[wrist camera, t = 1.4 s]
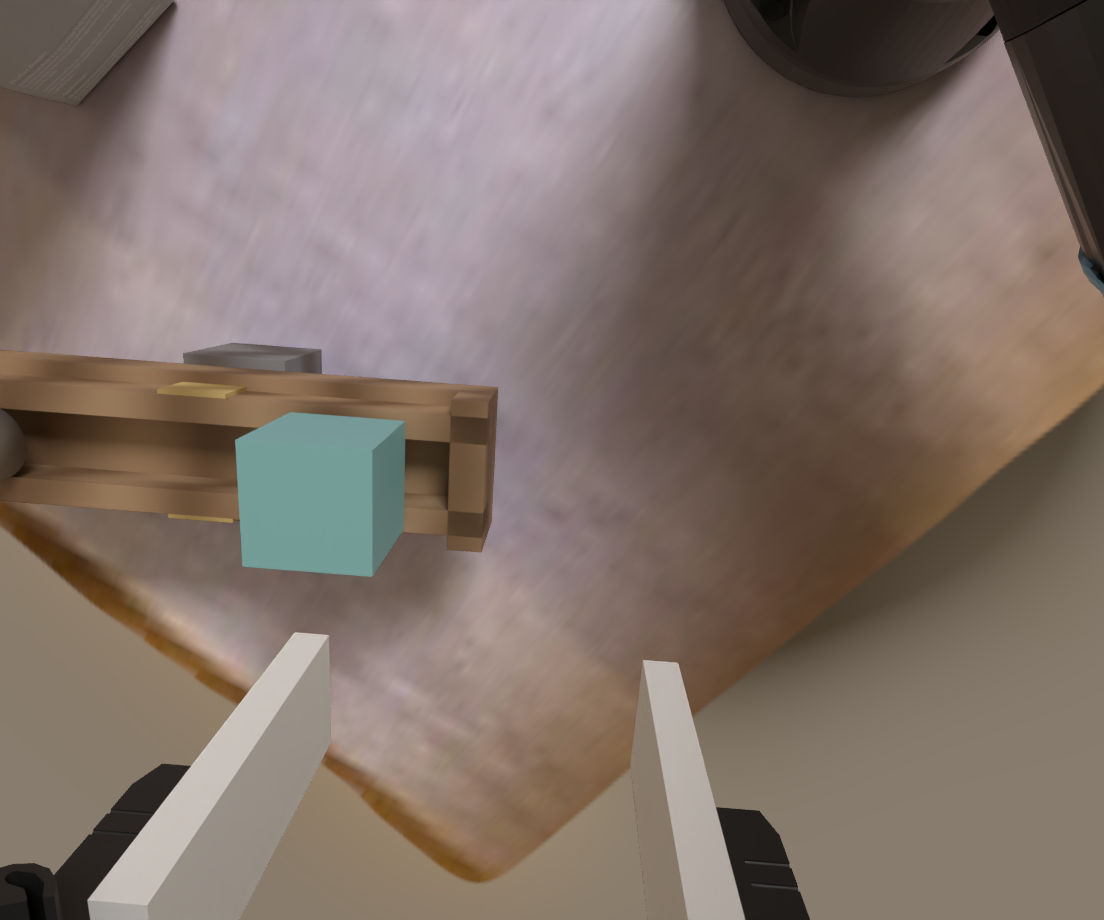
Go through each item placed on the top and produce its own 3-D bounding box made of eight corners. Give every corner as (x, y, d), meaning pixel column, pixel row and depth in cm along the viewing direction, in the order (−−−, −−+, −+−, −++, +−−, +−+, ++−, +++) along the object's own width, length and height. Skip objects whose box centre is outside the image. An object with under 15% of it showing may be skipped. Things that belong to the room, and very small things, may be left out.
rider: (416, 411, 32) (372, 450, 25) (414, 512, 33) (372, 576, 26) (308, 403, 32) (235, 439, 25) (311, 505, 33) (242, 566, 26)
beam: (508, 363, 38) (475, 409, 26) (501, 499, 40) (467, 603, 28) (47, 329, 38) (-209, 358, 26) (64, 465, 41) (-164, 553, 28)
